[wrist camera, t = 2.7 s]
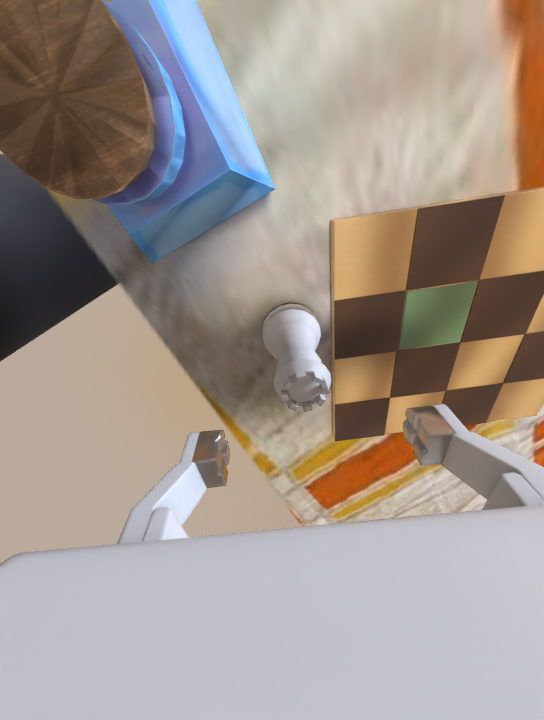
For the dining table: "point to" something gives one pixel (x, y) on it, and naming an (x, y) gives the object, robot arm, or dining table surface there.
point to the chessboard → (438, 312)
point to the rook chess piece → (296, 356)
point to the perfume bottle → (127, 114)
